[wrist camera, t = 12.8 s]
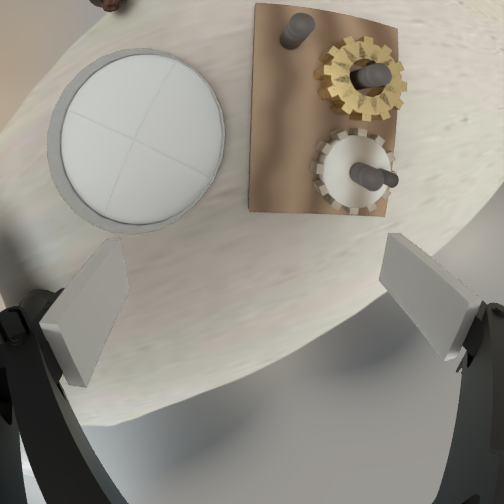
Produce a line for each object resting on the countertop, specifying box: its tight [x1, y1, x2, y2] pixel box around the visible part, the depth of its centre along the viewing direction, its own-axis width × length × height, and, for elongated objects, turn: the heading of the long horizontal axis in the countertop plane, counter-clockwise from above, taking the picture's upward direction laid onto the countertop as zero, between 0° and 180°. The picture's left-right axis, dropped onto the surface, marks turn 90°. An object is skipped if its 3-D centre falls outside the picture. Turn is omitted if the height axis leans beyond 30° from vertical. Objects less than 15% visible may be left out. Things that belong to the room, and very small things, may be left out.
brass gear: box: [314, 36, 407, 122], centre depth 27 cm, size 10×10×4 cm
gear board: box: [248, 3, 399, 217], centre depth 28 cm, size 18×26×9 cm
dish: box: [47, 48, 225, 234], centre depth 31 cm, size 22×22×5 cm
